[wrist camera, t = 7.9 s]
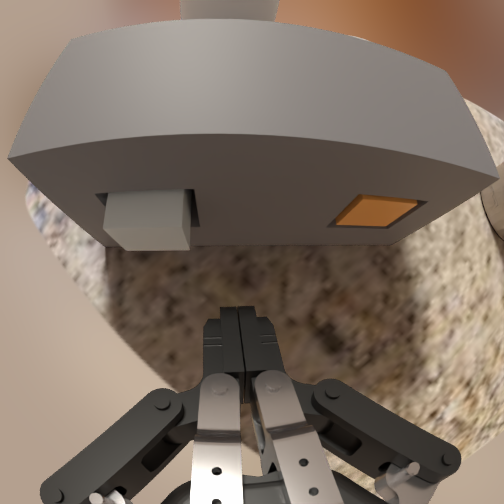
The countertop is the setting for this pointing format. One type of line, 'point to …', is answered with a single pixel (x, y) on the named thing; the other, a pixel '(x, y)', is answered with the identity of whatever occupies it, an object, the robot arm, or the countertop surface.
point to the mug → (229, 9)
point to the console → (251, 131)
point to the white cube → (149, 219)
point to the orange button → (374, 210)
